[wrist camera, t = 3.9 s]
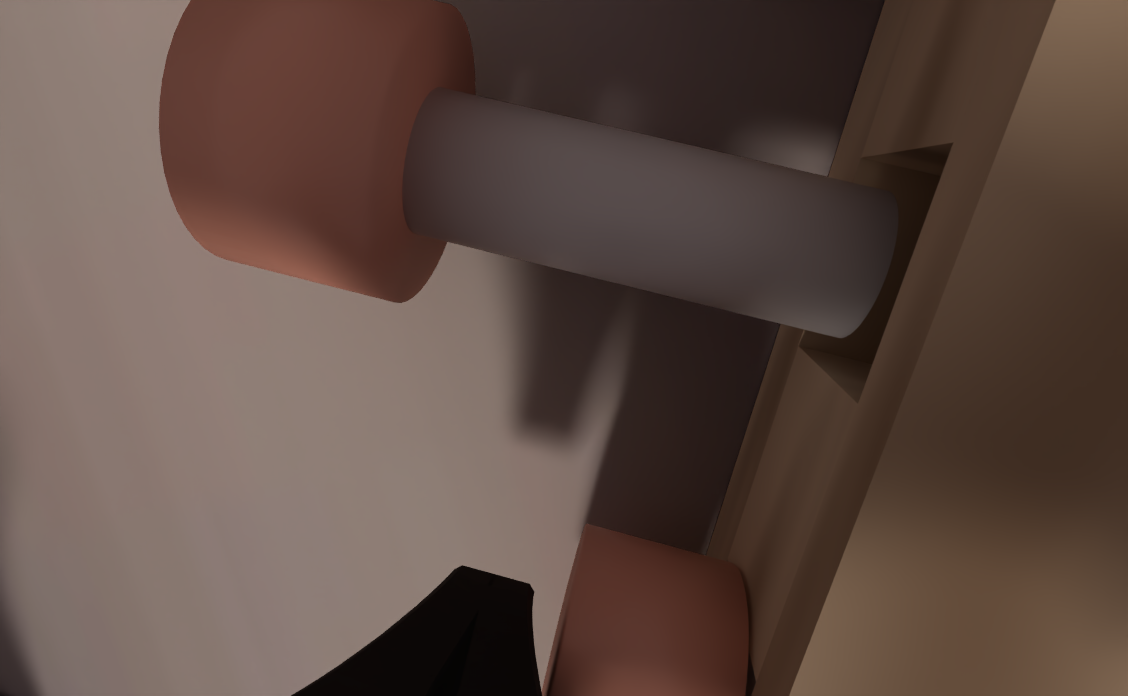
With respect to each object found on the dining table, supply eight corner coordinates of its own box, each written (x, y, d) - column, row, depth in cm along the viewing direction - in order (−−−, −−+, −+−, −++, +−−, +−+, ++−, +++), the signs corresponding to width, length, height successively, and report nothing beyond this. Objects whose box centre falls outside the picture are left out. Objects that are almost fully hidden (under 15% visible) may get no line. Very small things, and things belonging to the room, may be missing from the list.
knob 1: (861, 127, 10) (996, 85, 6) (782, 367, 11) (857, 459, 7) (343, 9, 11) (173, -97, 7) (312, 249, 12) (148, 277, 8)
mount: (1445, -483, 9) (2764, -1592, 3) (872, 801, 14) (1013, 1172, 9) (1060, -545, 9) (1691, -1661, 4) (647, 737, 14) (650, 1058, 9)
